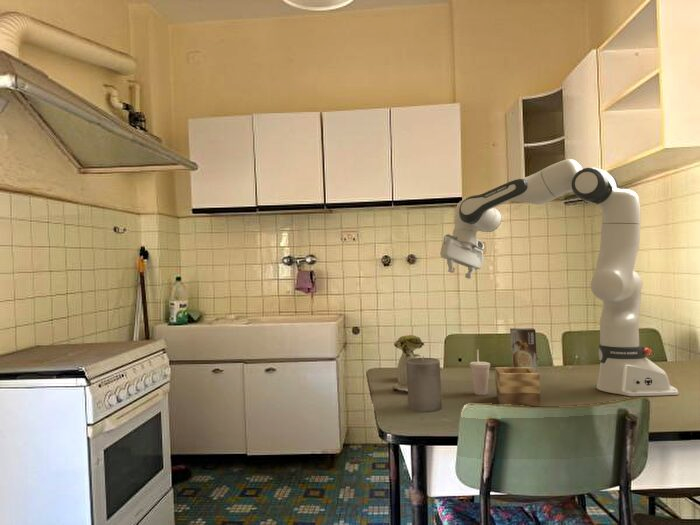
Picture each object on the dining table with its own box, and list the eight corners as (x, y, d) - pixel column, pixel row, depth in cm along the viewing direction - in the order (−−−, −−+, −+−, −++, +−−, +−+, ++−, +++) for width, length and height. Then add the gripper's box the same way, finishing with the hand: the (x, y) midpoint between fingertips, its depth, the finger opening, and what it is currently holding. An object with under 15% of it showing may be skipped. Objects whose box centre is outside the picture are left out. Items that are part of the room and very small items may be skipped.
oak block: (532, 385, 159) (531, 367, 159) (540, 393, 148) (539, 374, 148) (495, 385, 161) (495, 367, 161) (500, 393, 150) (499, 374, 150)
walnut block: (533, 398, 158) (533, 385, 158) (540, 408, 148) (539, 394, 148) (496, 398, 160) (496, 385, 160) (500, 407, 150) (499, 393, 150)
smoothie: (470, 391, 169) (468, 348, 169) (490, 391, 168) (489, 348, 168) (470, 395, 163) (469, 351, 163) (491, 396, 161) (490, 351, 162)
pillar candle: (423, 401, 157) (421, 352, 157) (449, 407, 149) (446, 355, 149) (401, 408, 150) (398, 356, 150) (426, 414, 143) (424, 360, 143)
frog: (412, 396, 163) (410, 338, 164) (385, 390, 174) (384, 335, 174) (438, 391, 170) (436, 335, 171) (411, 385, 181) (409, 332, 181)
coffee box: (535, 368, 204) (534, 327, 204) (537, 371, 198) (536, 329, 198) (511, 368, 206) (510, 328, 206) (512, 371, 200) (511, 329, 200)
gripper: (451, 231, 191) (446, 267, 188) (487, 246, 202) (483, 280, 199) (438, 233, 196) (434, 269, 193) (474, 248, 207) (471, 281, 204)
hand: (459, 275), depth 196 cm, fingers open, 8 cm apart
